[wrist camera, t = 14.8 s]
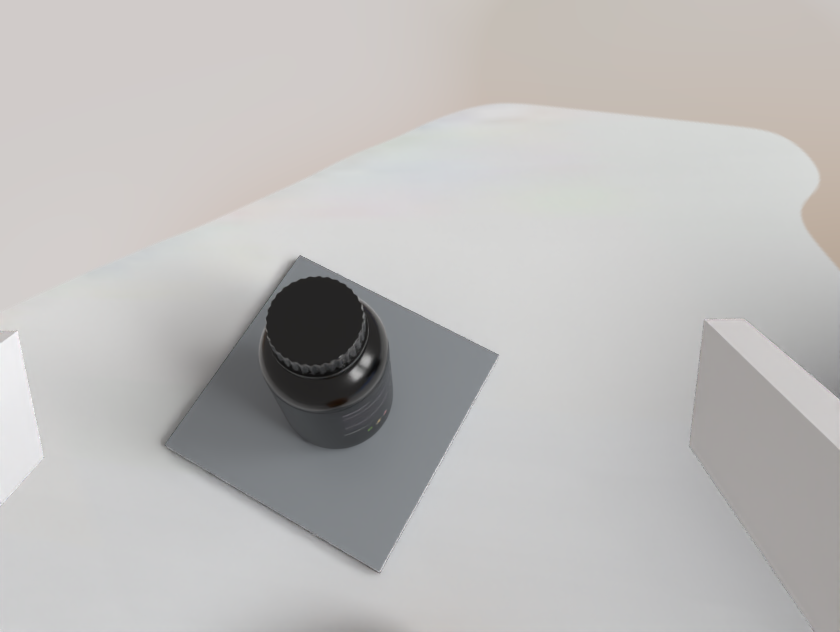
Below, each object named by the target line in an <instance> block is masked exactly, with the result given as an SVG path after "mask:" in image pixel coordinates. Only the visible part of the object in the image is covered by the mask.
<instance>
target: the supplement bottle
mask: <svg viewBox="0 0 840 632" xmlns="http://www.w3.org/2000/svg"><path fill="white" fill-rule="evenodd" d="M266 323H267V324H266V326H265V328H264V330H263V332H262V335H261V339H260V343H259V363H260V368H261V371H262V374H263V377H264V379H265V381H266V383H267V385H268V387H269V389H270V390H271V392H272V394H273V396H274V398H275V399H276V401H277V403H278V405H279V407H280V408H281V410H282V412H283V414H284V416H285V418H286V419H287V421H288V422H289V424H290V425H291V427H292V428H293V429H294V431H295V432H296V433H297V434H298V435H299V436H300V437H302V438H303V439H304V440H306V441H307V442H309V443H311V444H313V445H316V446H318V447H322V448H327V449H345V448H350V447H353V446H356V445H358V444H361V443H363V442H365V441H366V440H368V439H369V438H371V437H372V436H373V435H374V434H375V433H376V432H378V431H379V429H380V428H381V427H382V426H383V424H384V423H385V421H386V419H387V417H388V415H389V413H390V410H391V406H392V401H393V382H392V372H391V362H390V351H389V342H388V337H387V333H386V330H385V327H384V325H383V323H382V321H381V319H380V317H379V316H378V315H377V313H376V312H375V311H374V310H373V309H372V308H371V307H370V306H369V305H368V304H367V303H366V302H364V301H363V300H361V299H360V298H359V297H358V296H357V295H355V294H354V292H353V290H352V289H350V288H348V287H347V285H346V284H344V283H340V282H339V281H338V280H336V279H331V278H329V277H321V276H316V277H311V276H309V277H307V278H301V279H299V280H298V281H296V282H291V283H290V284H289V286H286V287H284V288H283V289H282V291H281V292H279V293H277V295H276V297H275V299H273V300H272V301H271V306H270V307H269V308H268V315H267V316H266Z"/></svg>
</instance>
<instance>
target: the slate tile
mask: <svg viewBox="0 0 840 632" xmlns="http://www.w3.org/2000/svg"><path fill="white" fill-rule="evenodd" d="M309 276H311V277H316V276H321V277H329V278H331V279H336V280H338V281H339V282H340V283H344V284H346V285H347V287H348V288H350V289H352V290H353V292H354V294H355V295H357V296H358V297H359V298H360V299H361V300H363V301H364V302H366V303H367V304H368V305H369V306H370V307H371V308H372V309H373V310H374V311H375V312H376V313H377V315H378V316H379V317H380V319H381V321H382V323H383V325H384V327H385V330H386V333H387V337H388V342H389V351H390V362H391V372H392V382H393V401H392V406H391V410H390V413H389V415H388V417H387V419H386V421H385V423H384V424H383V426H382V427H381V428H380V429H379V431H378V432H376V433H375V434H374V435H373V436H372V437H371V438H369V439H368V440H366V441H365V442H363V443H361V444H358V445H356V446H353V447H350V448H345V449H327V448H322V447H318V446H316V445H313V444H311V443H309V442H307V441H306V440H304V439H303V438H302V437H300V436H299V435H298V434H297V433H296V432H295V431H294V429H293V428H292V427H291V425H290V424H289V422H288V421H287V419H286V418H285V416H284V414H283V412H282V410H281V408H280V407H279V405H278V403H277V401H276V399H275V398H274V396H273V394H272V392H271V390H270V389H269V387H268V385H267V383H266V381H265V379H264V377H263V374H262V371H261V368H260V363H259V343H260V339H261V335H262V332H263V330H264V328H265V326H266V324H267V323H266V316H267V315H268V308H269V307H270V306H271V301H272V300H273V299H275V297H276V295H277V293H279V292H281V291H282V289H283V288H284V287H286V286H289V284H290V283H291V282H296V281H298V280H299V279H301V278H307V277H309ZM498 357H499V355H498V354H496V353H494V352H492V351H490V350H488V349H486V348H484V347H482V346H480V345H478V344H476V343H474V342H472V341H470V340H468V339H466V338H464V337H462V336H460V335H458V334H456V333H454V332H452V331H450V330H448V329H446V328H444V327H442V326H440V325H438V324H436V323H434V322H432V321H430V320H428V319H426V318H424V317H422V316H420V315H418V314H416V313H414V312H412V311H410V310H408V309H406V308H404V307H402V306H400V305H398V304H396V303H394V302H392V301H390V300H388V299H386V298H384V297H382V296H380V295H378V294H376V293H375V292H373V291H371V290H369V289H367V288H365V287H363V286H361V285H359V284H357V283H355V282H353V281H351V280H349V279H347V278H345V277H343V276H341V275H339V274H337V273H335V272H333V271H331V270H329V269H327V268H325V267H323V266H321V265H319V264H317V263H315V262H313V261H311V260H309V259H307V258H305V257H303V256H301V255H300V256H299V257H298V259H297V260H296V261H295V263H294V264H293V266H292V267H291V268H290V270H289V271H288V273H287V274H286V275H285V277H284V278H283V280H282V281H281V282H280V284H279V285H278V287H277V288H276V289H275V291H274V292H273V294H272V295H271V296H270V298H269V299H268V301H267V302H266V303H265V305H264V306H263V308H262V309H261V310H260V312H259V313H258V315H257V316H256V317H255V319H254V320H253V322H252V323H251V325H250V326H249V327H248V329H247V330H246V332H245V333H244V334H243V336H242V337H241V339H240V340H239V341H238V343H237V344H236V346H235V347H234V348H233V350H232V351H231V353H230V354H229V355H228V357H227V358H226V360H225V361H224V362H223V364H222V365H221V367H220V368H219V369H218V371H217V372H216V374H215V375H214V376H213V378H212V379H211V381H210V382H209V383H208V385H207V386H206V388H205V389H204V390H203V392H202V393H201V395H200V396H199V397H198V399H197V400H196V402H195V403H194V404H193V406H192V407H191V409H190V410H189V411H188V413H187V414H186V416H185V417H184V418H183V420H182V421H181V423H180V424H179V425H178V427H177V428H176V430H175V431H174V432H173V434H172V435H171V437H170V438H169V439H168V441H167V442H166V444H165V446H166V447H167V448H169V449H170V450H172V451H174V452H175V453H177V454H179V455H180V456H182V457H184V458H185V459H187V460H189V461H191V462H192V463H194V464H196V465H197V466H199V467H201V468H202V469H204V470H206V471H207V472H209V473H211V474H213V475H214V476H216V477H218V478H219V479H221V480H223V481H224V482H226V483H228V484H229V485H231V486H233V487H235V488H236V489H238V490H240V491H241V492H243V493H245V494H246V495H248V496H250V497H251V498H253V499H255V500H257V501H258V502H260V503H262V504H263V505H265V506H267V507H268V508H270V509H272V510H273V511H275V512H277V513H279V514H280V515H282V516H284V517H285V518H287V519H289V520H290V521H292V522H294V523H296V524H297V525H299V526H301V527H302V528H304V529H306V530H307V531H309V532H311V533H312V534H314V535H316V536H318V537H319V538H321V539H323V540H324V541H326V542H328V543H329V544H331V545H333V546H334V547H336V548H338V549H340V550H341V551H343V552H345V553H346V554H348V555H350V556H351V557H353V558H355V559H356V560H358V561H360V562H362V563H363V564H365V565H367V566H368V567H370V568H372V569H373V570H375V571H377V572H379V573H380V572H381V570H382V569H383V567H384V565H385V563H386V561H387V559H388V558H389V556H390V554H391V552H392V550H393V549H394V547H395V545H396V543H397V541H398V540H399V538H400V536H401V534H402V532H403V530H404V529H405V527H406V525H407V523H408V521H409V520H410V518H411V516H412V514H413V512H414V511H415V509H416V507H417V505H418V503H419V501H420V500H421V498H422V496H423V494H424V492H425V491H426V489H427V487H428V485H429V483H430V482H431V480H432V478H433V476H434V474H435V472H436V471H437V469H438V467H439V465H440V463H441V462H442V460H443V458H444V456H445V454H446V453H447V451H448V449H449V447H450V445H451V443H452V442H453V440H454V438H455V436H456V434H457V433H458V431H459V429H460V427H461V425H462V424H463V422H464V420H465V418H466V416H467V414H468V413H469V411H470V409H471V407H472V405H473V404H474V402H475V400H476V398H477V396H478V395H479V393H480V391H481V389H482V387H483V386H484V384H485V382H486V380H487V378H488V376H489V375H490V373H491V371H492V369H493V367H494V366H495V364H496V362H497V360H498Z"/></svg>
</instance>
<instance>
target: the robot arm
mask: <svg viewBox="0 0 840 632" xmlns="http://www.w3.org/2000/svg"><path fill="white" fill-rule="evenodd" d="M689 447H690V448H691V450H692V451H693V453H694V454H695V456H696V457H697V459H698V460H699V462H700V463H701V465H702V466H703V468H704V469H705V471H706V472H707V474H708V475H709V477H710V478H711V480H712V481H713V483H714V484H715V485H716V487H717V488H718V490H719V491H720V493H721V494H722V496H723V497H724V499H725V500H726V502H727V503H728V505H729V506H730V508H731V509H732V511H733V512H734V514H735V515H736V517H737V518H738V520H739V521H740V523H741V524H742V525H743V527H744V528H745V530H746V531H747V533H748V534H749V536H750V537H751V539H752V540H753V542H754V543H755V545H756V546H757V548H758V549H759V551H760V552H761V554H762V555H763V557H764V558H765V560H766V561H767V563H768V564H769V565H770V567H771V568H772V570H773V571H774V573H775V574H776V576H777V577H778V579H779V580H780V582H781V583H782V585H783V586H784V588H785V589H786V591H787V592H788V594H789V595H790V597H791V598H792V600H793V601H794V603H795V604H796V605H797V607H798V608H799V610H800V611H801V613H802V614H803V616H804V617H805V619H806V620H807V622H808V623H809V625H810V626H811V628H812V629H813V631H814V632H840V399H839V398H838V397H836V396H835V395H834V394H833V393H832V392H830V391H829V390H828V389H827V388H826V387H825V386H823V385H822V384H821V383H820V382H819V381H817V380H816V379H815V378H814V377H813V376H812V375H810V374H809V373H808V372H807V371H806V370H804V369H803V368H802V367H801V366H800V365H799V364H797V363H796V362H795V361H794V360H793V359H791V358H790V357H789V356H788V355H787V354H786V353H784V352H783V351H782V350H781V349H780V348H778V347H777V346H776V345H775V344H774V343H773V342H771V341H770V340H769V339H768V338H767V337H765V336H764V335H763V334H762V333H761V332H760V331H758V330H757V329H756V328H755V327H754V326H752V325H751V324H750V323H749V322H748V321H747V320H745V319H704V325H703V333H702V342H701V350H700V358H699V367H698V375H697V384H696V392H695V401H694V409H693V418H692V426H691V435H690V443H689ZM43 458H44V455H43V450H42V445H41V440H40V435H39V431H38V426H37V421H36V416H35V411H34V407H33V402H32V397H31V392H30V388H29V383H28V378H27V373H26V368H25V364H24V359H23V354H22V349H21V344H20V340H19V335H18V331H0V506H1V505H2V504H3V503H4V502H5V501H6V500H7V499H8V497H9V496H10V495H11V494H12V493H13V492H14V491H15V490H16V488H17V487H18V486H19V485H20V484H21V483H22V482H23V481H24V479H25V478H26V477H27V476H28V475H29V474H30V473H31V472H32V470H33V469H34V468H35V467H36V466H37V465H38V464H39V463H40V461H41V460H42V459H43Z"/></svg>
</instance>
